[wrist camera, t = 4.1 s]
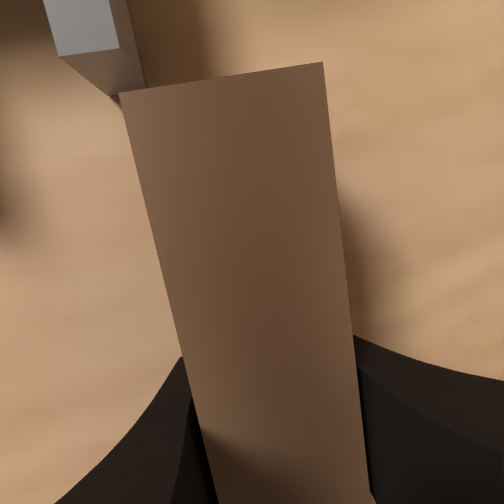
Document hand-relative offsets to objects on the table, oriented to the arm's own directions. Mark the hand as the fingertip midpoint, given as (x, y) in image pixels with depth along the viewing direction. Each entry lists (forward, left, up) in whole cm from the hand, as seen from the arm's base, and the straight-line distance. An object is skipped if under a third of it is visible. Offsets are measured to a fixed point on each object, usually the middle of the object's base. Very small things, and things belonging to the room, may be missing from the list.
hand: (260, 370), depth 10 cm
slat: (0, 0, -2) cm, 2 cm away
